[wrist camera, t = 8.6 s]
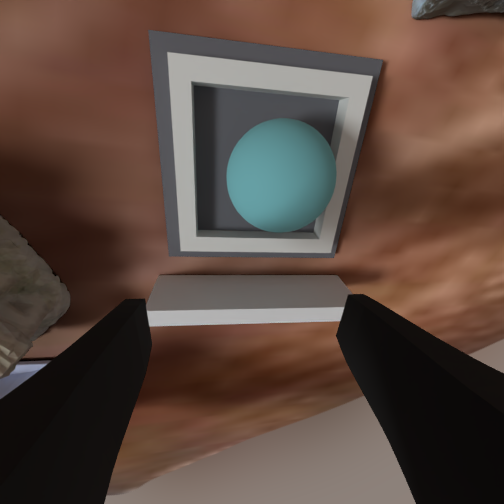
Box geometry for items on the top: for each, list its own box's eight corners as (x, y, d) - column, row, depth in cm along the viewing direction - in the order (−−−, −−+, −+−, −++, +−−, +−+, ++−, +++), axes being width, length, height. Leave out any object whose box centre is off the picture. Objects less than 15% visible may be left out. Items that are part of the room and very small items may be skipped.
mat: (170, 252, 17) (165, 265, 16) (151, 34, 12) (140, 19, 10) (330, 254, 19) (340, 265, 17) (376, 62, 14) (397, 53, 12)
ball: (217, 215, 15) (238, 254, 11) (218, 114, 13) (246, 108, 8) (296, 213, 17) (345, 246, 12) (310, 123, 14) (378, 122, 10)
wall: (160, 288, 18) (145, 326, 15) (158, 275, 18) (143, 311, 14) (334, 287, 20) (358, 320, 17) (337, 275, 20) (362, 306, 16)
